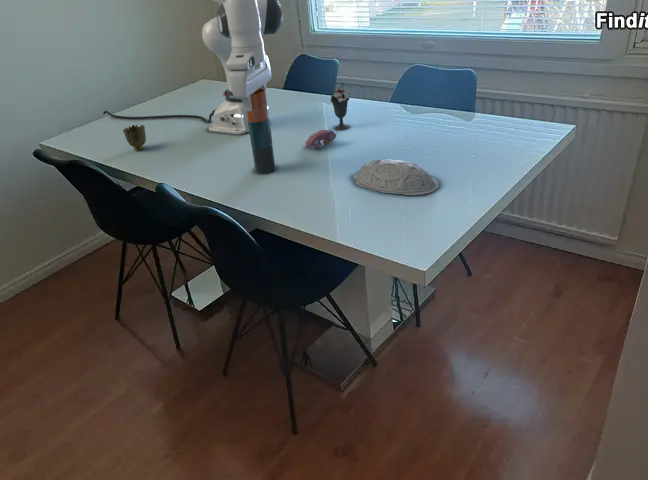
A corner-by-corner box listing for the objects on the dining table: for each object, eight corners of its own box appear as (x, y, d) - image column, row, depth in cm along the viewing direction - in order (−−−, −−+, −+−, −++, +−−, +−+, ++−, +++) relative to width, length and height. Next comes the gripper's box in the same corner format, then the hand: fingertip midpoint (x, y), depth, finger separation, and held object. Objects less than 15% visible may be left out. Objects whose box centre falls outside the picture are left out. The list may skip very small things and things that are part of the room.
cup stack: (252, 173, 168) (244, 122, 159) (260, 165, 173) (252, 115, 164) (271, 174, 166) (264, 122, 157) (278, 165, 171) (271, 115, 162)
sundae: (351, 123, 197) (349, 81, 188) (350, 130, 191) (348, 86, 183) (332, 124, 198) (329, 82, 189) (331, 131, 192) (328, 88, 184)
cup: (244, 122, 159) (239, 94, 155) (252, 115, 164) (248, 88, 160) (263, 122, 157) (260, 94, 153) (271, 115, 162) (268, 88, 158)
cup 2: (153, 145, 198) (148, 124, 194) (142, 153, 192) (136, 131, 188) (136, 145, 200) (130, 124, 196) (125, 153, 195) (118, 131, 190)
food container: (422, 199, 141) (422, 174, 138) (342, 186, 156) (341, 163, 153) (448, 182, 152) (449, 158, 149) (371, 171, 166) (370, 149, 163)
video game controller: (309, 155, 180) (312, 139, 174) (303, 145, 182) (306, 130, 176) (335, 147, 183) (339, 132, 177) (329, 138, 185) (332, 122, 179)
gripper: (253, 46, 160) (259, 94, 168) (223, 65, 144) (231, 116, 152) (273, 46, 158) (279, 94, 166) (244, 64, 142) (252, 117, 150)
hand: (256, 105), depth 159 cm, fingers open, 8 cm apart
